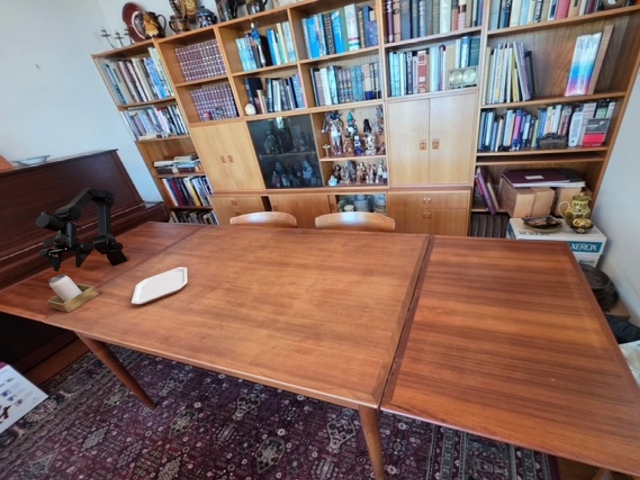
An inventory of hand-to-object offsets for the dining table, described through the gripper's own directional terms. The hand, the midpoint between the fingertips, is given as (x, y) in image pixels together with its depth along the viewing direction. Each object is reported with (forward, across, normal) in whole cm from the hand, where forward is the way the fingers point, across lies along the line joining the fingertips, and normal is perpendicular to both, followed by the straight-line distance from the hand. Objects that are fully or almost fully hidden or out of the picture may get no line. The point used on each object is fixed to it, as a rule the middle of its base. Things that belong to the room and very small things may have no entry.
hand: (67, 269), depth 125 cm
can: (+13, 0, +4) cm, 14 cm away
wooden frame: (+13, 0, +4) cm, 14 cm away
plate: (+16, +39, +2) cm, 42 cm away
